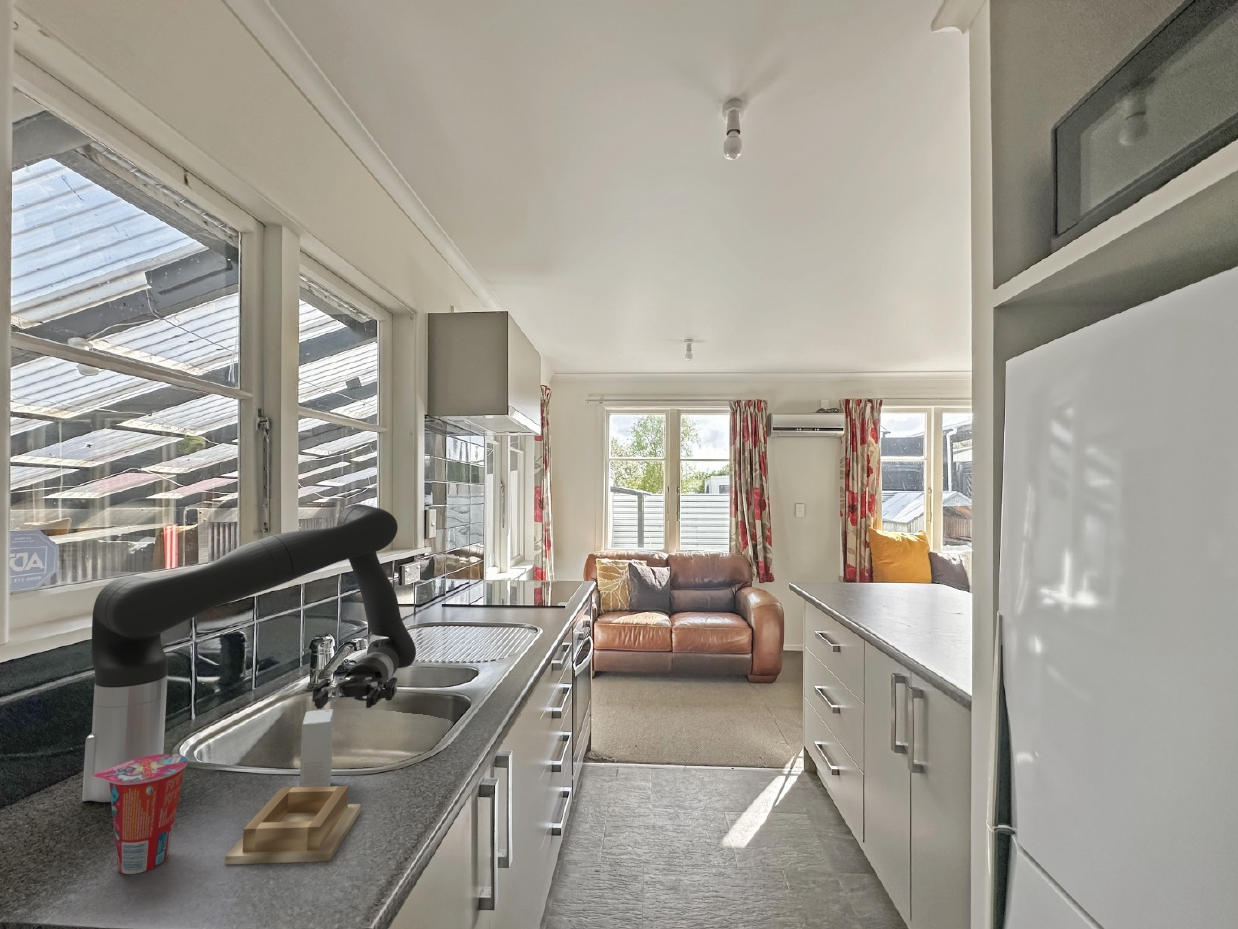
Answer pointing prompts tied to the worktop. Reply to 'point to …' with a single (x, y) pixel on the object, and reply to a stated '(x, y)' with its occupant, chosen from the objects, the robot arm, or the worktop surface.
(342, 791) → the socket holder
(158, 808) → the cup
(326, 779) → the skincare box
